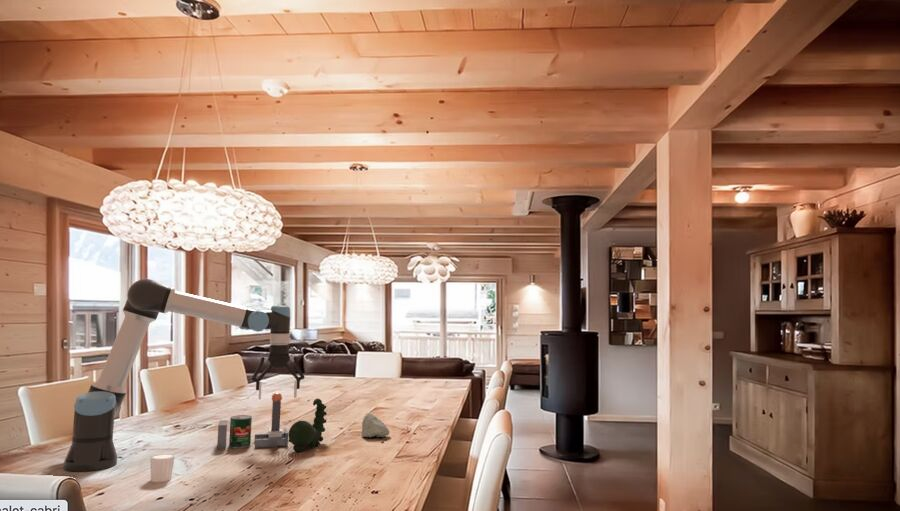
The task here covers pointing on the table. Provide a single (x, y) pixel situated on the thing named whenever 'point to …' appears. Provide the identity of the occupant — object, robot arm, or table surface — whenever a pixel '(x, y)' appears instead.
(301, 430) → the toy figurine
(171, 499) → the table surface
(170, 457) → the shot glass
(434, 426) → the table surface
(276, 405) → the ball-tipped square rod
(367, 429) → the decorative stone
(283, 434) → the press frame
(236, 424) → the canned tomato
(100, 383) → the robot arm
